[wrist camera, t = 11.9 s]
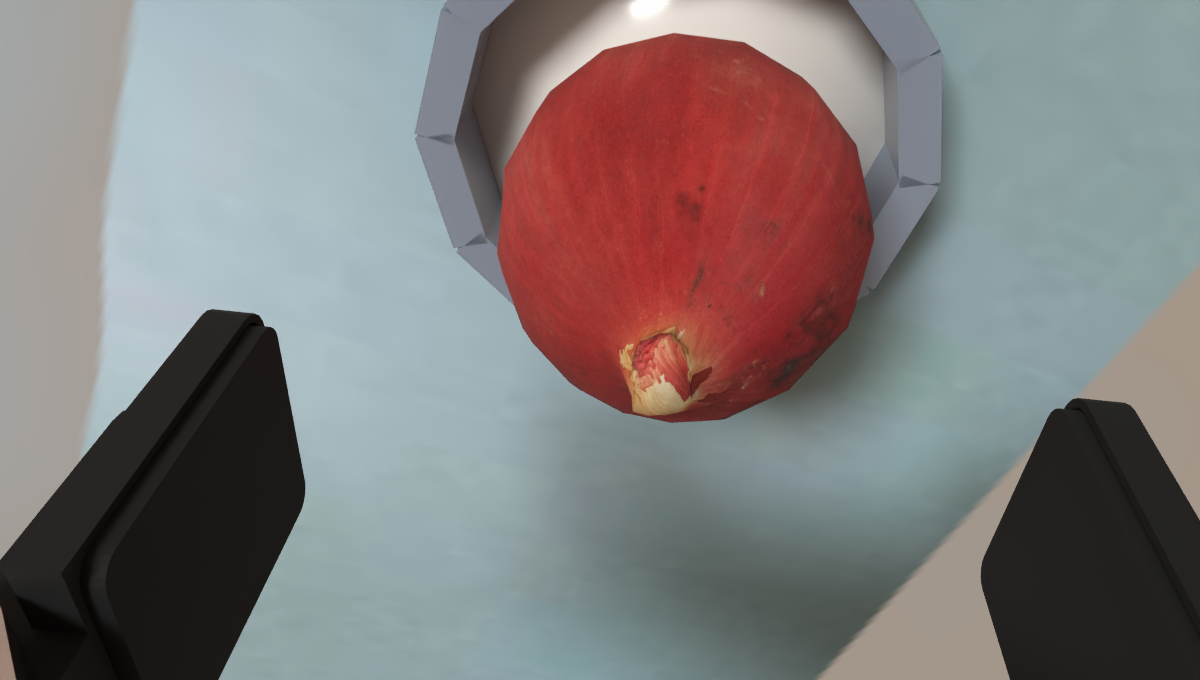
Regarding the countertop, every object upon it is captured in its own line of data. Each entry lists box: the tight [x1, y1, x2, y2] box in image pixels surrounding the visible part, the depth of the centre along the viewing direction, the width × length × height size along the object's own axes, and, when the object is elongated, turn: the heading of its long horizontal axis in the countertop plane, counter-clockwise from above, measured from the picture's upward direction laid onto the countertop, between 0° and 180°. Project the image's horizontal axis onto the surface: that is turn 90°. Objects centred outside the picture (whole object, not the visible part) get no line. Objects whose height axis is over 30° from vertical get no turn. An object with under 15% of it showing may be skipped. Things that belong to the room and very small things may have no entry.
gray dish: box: [415, 0, 943, 305], centre depth 17 cm, size 9×9×2 cm
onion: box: [497, 33, 875, 423], centre depth 14 cm, size 6×6×8 cm
